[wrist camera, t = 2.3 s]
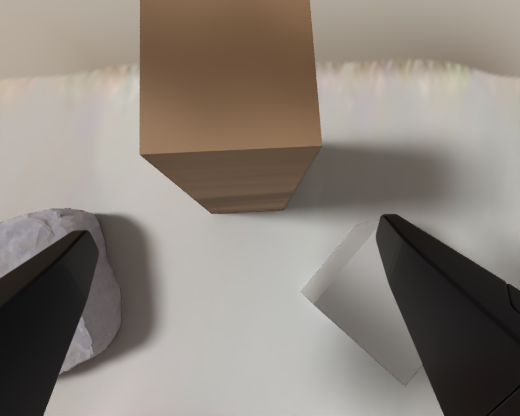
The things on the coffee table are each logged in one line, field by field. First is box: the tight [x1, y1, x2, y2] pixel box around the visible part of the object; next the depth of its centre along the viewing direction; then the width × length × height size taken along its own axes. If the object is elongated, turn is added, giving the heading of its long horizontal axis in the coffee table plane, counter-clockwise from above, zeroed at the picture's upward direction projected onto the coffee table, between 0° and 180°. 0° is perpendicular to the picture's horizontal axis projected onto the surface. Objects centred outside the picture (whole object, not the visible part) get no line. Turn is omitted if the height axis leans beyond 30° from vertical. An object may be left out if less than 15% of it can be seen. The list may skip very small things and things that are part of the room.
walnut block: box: [140, 0, 322, 214], centre depth 15 cm, size 5×5×13 cm
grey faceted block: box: [300, 219, 422, 387], centre depth 18 cm, size 6×6×5 cm
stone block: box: [0, 208, 122, 375], centre depth 19 cm, size 12×5×10 cm
